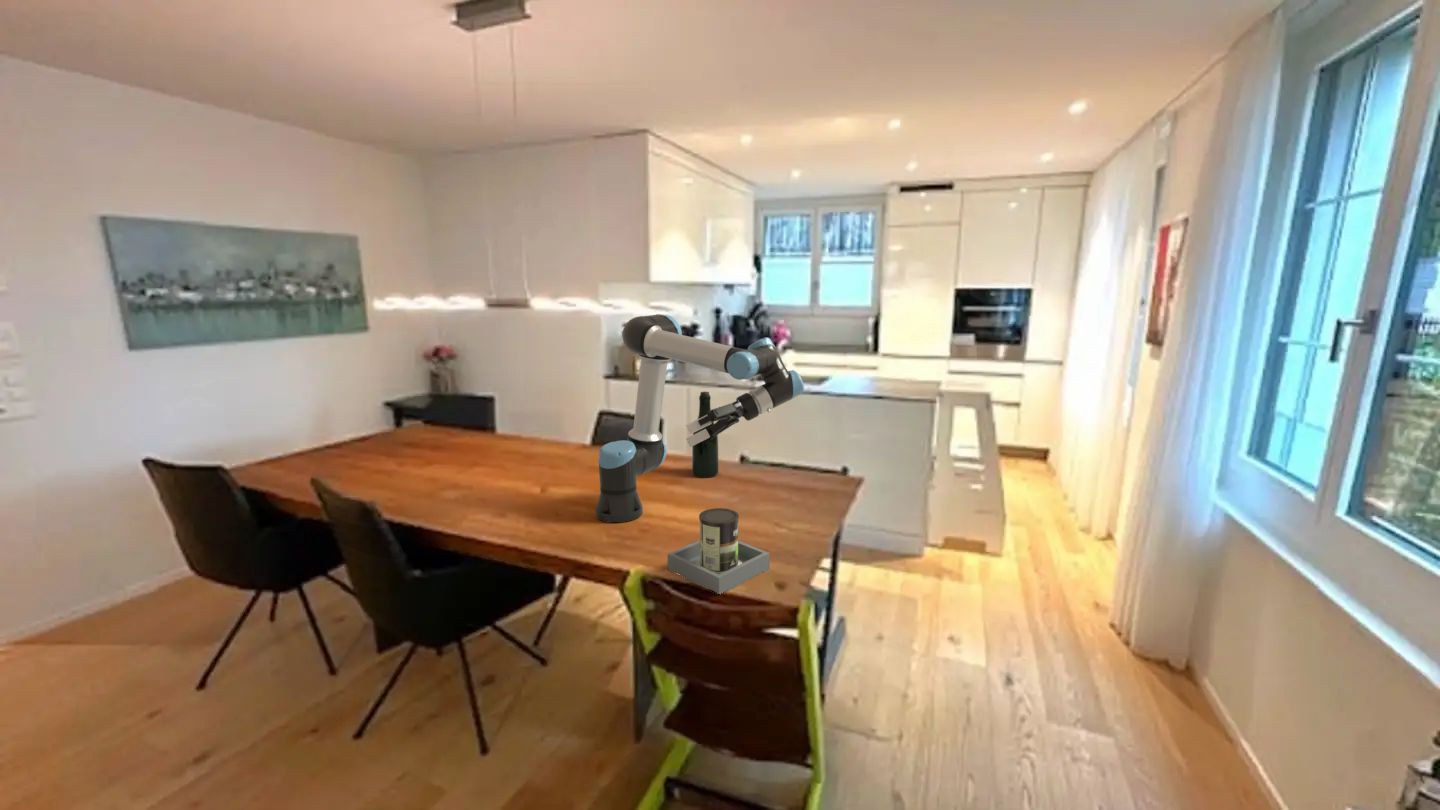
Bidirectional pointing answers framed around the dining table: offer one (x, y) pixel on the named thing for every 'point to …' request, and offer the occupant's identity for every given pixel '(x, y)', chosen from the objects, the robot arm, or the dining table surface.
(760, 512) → the dining table surface
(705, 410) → the beer bottle
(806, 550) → the dining table surface
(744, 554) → the walled box
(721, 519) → the coffee can
